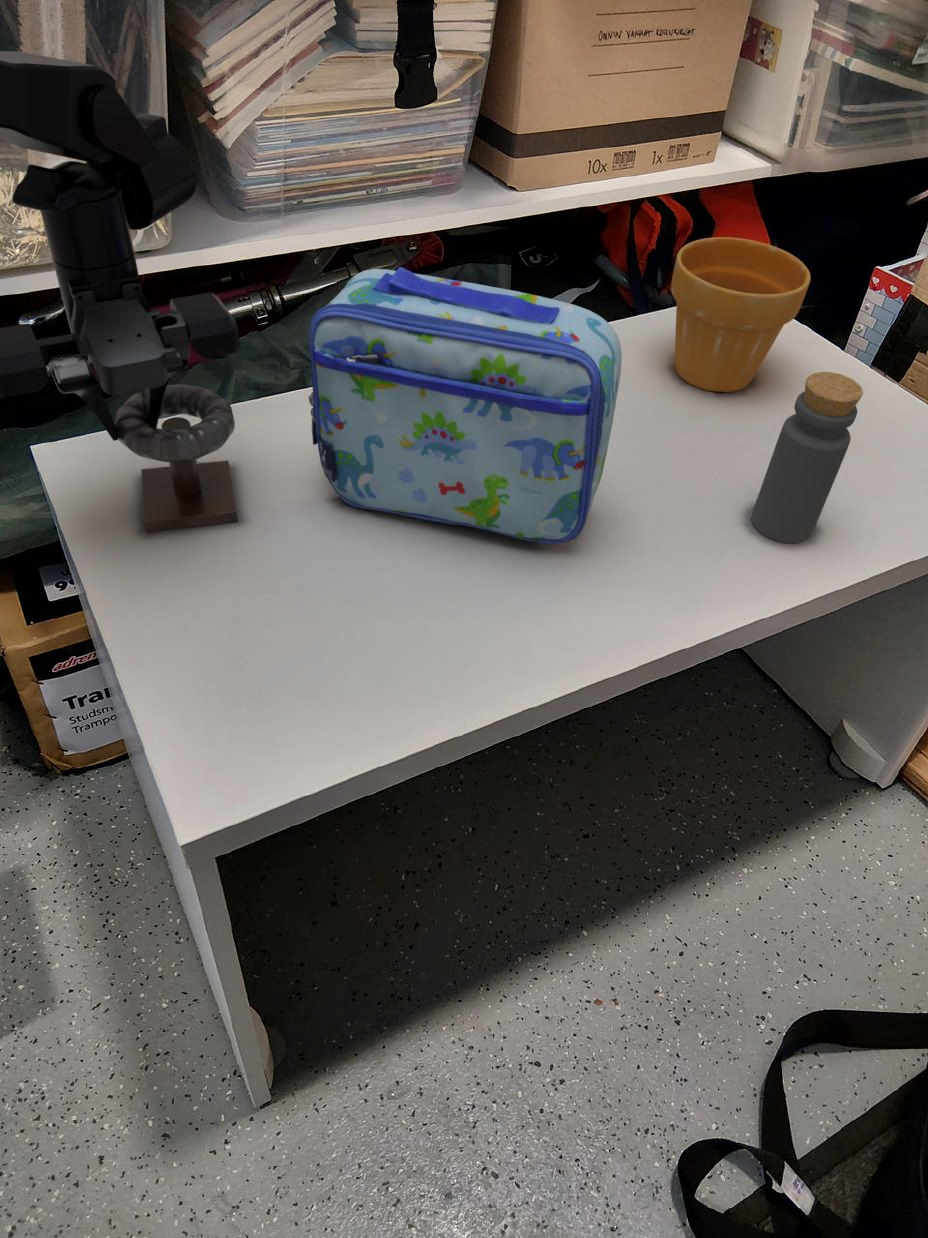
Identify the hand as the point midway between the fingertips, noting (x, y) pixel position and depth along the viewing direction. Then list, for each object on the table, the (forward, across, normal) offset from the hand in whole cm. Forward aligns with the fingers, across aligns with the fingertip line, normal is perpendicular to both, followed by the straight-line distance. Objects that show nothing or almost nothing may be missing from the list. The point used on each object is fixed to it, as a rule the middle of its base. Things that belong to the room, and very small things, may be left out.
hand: (133, 433), depth 79 cm
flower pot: (+8, +65, -1) cm, 66 cm away
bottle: (+8, +53, -26) cm, 60 cm away
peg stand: (+8, +4, 0) cm, 9 cm away
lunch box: (+8, +26, -10) cm, 29 cm away
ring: (0, +4, 0) cm, 4 cm away
